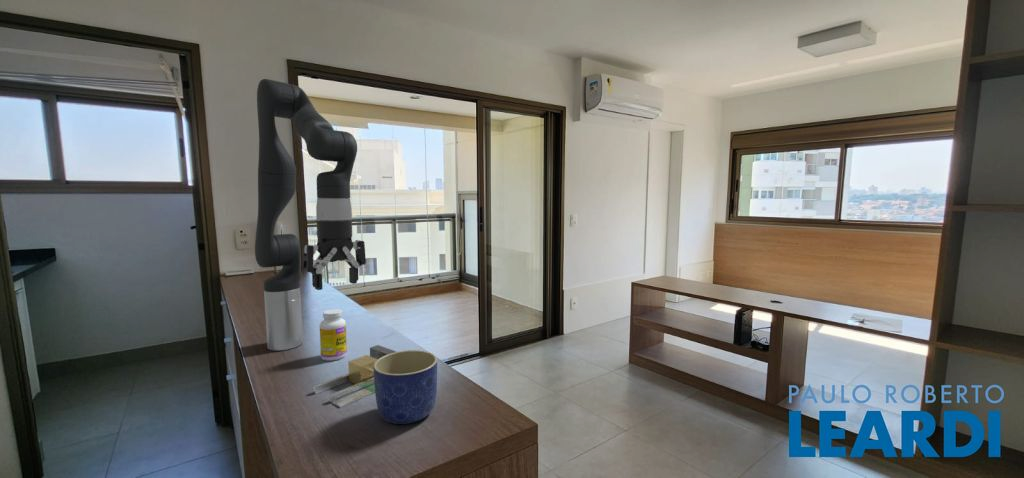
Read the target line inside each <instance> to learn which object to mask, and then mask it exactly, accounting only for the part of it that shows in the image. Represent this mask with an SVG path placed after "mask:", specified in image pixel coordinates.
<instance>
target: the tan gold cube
mask: <svg viewBox="0 0 1024 478" xmlns="http://www.w3.org/2000/svg"><path fill="white" fill-rule="evenodd" d="M377 360H378V359H376V358H373V357H371V356H370V355H368V354H366V355H363V356H360V357H358V358H354V359H352V360H349V361H348V365H347V366H348V373H349V381H348V382H351V383H353V385H355V384H358V383H360V382H363V381H365V380H368V379H370V378H373V377H374V369H373V365H374V363H375V362H376V361H377Z"/></svg>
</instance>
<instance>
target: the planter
mask: <svg viewBox="0 0 1024 478" xmlns="http://www.w3.org/2000/svg"><path fill="white" fill-rule="evenodd" d="M373 369H374V383H375V392H374V393H375V402H376V406H377V407H376V408H377V410H378V414H379V415H380V417H381V418H382V419H384V421H387V422H388V423H391V424H396V425H406V424H412V423H415V422H418V421H421V420H422V419H424V418H426V417H427V416H428V415H429V414H431V412H432V411H433V410H434V408H435V404H436V401H437V392H438V391H437V390H438V389H437V387H438V358H437V356H436V355H435V354H434V353H431V352H430V351H429V352H428V351H425V350H416V349H414V350H413V349H411V350H410V349H408V350H401V351H400V350H399V351H396V352H394V353H391V354H388V355H385V356H383V357H381V358H379V359H378V360H377V361H376V362H375V363H374V365H373Z"/></svg>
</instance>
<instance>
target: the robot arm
mask: <svg viewBox="0 0 1024 478" xmlns="http://www.w3.org/2000/svg"><path fill="white" fill-rule="evenodd" d="M256 90H257V91H256V107H257V108H256V109H257V121H258V123H257V124H258V125H257V126H258V166H257V200H258V202H257V203H258V204H257V207H258V208H257V221H256V231H255V238H254V239H255V243H254V257H255V261H256V263H257V264H258V265H257V266H259V267H261V268H265V269H266V268H274V267H275V268H276V267H282V268H281V269H280V271H278V272H277V273H276V274H274V275H273V276H271V277H270V276H269V277H268V278H266V279H265V280H264V282H263V294H264V295H263V296H264V297H263V298H264V299H263V300H264V313H265V314H264V315H265V327H266V328H265V330H266V344H267V345H266V347H267V350H270V351H285V350H286V351H287V350H291V349H294V348H297V347H299V346H301V345H303V340H304V339H303V322H302V321H303V320H302V319H303V318H302V301H301V300H302V297H301V283H300V282H301V276H302V275H301V274H302V272H301V271H304V272H306V273H311V280H312V281H311V282H312V283H311V284H312V287H313V288H314V289H315V290H317V291H321V290H323V274H322V271H323V270H324V269H325V267H326V266H327V265H328V264H329V263H335V262H337V261H339V262H342V261H344V262H346V263H347V264H348V266H349V267H348V272H349V273H348V275H349V276H348V277H349V279H348V281H349V283H350V284H352V285H356V284H357V283H358V281H359V278H360V277H359V268H360V267H361V266H364V265H366V263H367V258H366V247H365V241H364V240H360V239H356V240H355V241H353V240H352V238H353V212H352V211H353V210H352V208H353V207H352V202H351V178H352V174H353V173H352V172H353V170H354V169H353V168H354V164H355V161H356V158H357V155H358V154H357V153H358V143H357V140H356V138H355V137H354V135H353V134H352V133H350V132H348V131H343V130H335V129H334V127H333V126H332V124H331V123H330V122H329V121H328V120H327V119H326V118H324V116H323V115H321V114H320V113H319V112H318V111H317V110H316V108H315V107H314V106H315V105H313V103H312V101H311V99H309V97H308V95H307V94H306V92H305V90H303V88H301V87H300V86H298V85H295V84H293V83H289V82H288V83H287V82H284V81H283V82H282V81H279V80H274V79H269V78H262V79H261V80H260V81H259V82H258V85H257V89H256ZM276 118H281V119H286V120H287V119H289V120H293V122H292V124H293V127H294V129H295V131H296V132H297V134H298V135H299V136H300V137H301V138H302V139H303V140H304V142H305V146H306V152H307V153H308V155H309V156H310V157H311V158H313V159H314V160H318V161H323V162H324V161H325V162H337V163H336V166H335V168H334V169H333V170H329V171H323V172H319V173H317V176H316V207H315V208H316V209H315V212H316V214H315V215H316V216H315V217H316V237H317V243H316V244H313V245H310V244H303V246H302V249H301V243H300V240H299V238H298V237H297V236H296V235H295V234H293V233H283V234H282V233H281V234H275V230H276V229H275V228H276V224H277V221H278V220H279V217H280V215H281V214H282V212H283V211H284V210H285V208H286V207H287V205H289V203H290V201H291V200H292V199H293V197H294V195H295V193H296V190H297V166H296V164H295V162H294V160H293V159H292V156H291V155H290V154H289V152H288V150H287V148H286V147H285V145H284V144H283V141H282V140H281V138H280V135H278V134H279V133H278V131H277V126H276ZM353 249H354V250H355V251H354V252H355V256H354V255H353V254H352V252H351V251H352V250H353ZM301 250H302V251H301ZM316 252H318V253H319V255H318V256H317V257H316V259H315V260H314V255H315V254H316ZM301 253H302V255H301ZM301 257H302V258H301ZM301 260H302V262H301ZM301 263H302V264H301ZM301 265H302V266H301ZM301 268H302V270H301Z"/></svg>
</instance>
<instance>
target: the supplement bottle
mask: <svg viewBox="0 0 1024 478" xmlns="http://www.w3.org/2000/svg"><path fill="white" fill-rule="evenodd" d="M342 315H343V311H342V310H341V309H337V308H336V309H328V310H324V311H323V312H322V317H323V320H322V321H321V322H320V323H319V344H320V345H319V347H320V358H321V360H323V361H330V362H331V361H338V360H340V359H341V360H342V359H344V358H345V357H346V356H347V354H348V346H347V345H348V342H347V340H348V339H347V322H346V320H345V319H344V318H342Z"/></svg>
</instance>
